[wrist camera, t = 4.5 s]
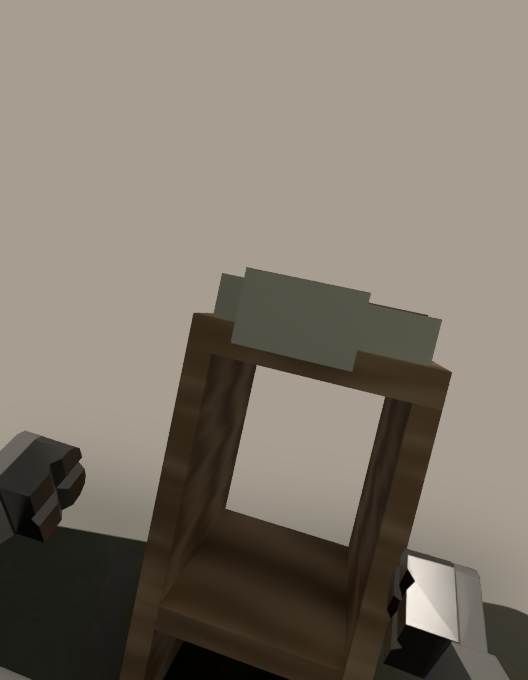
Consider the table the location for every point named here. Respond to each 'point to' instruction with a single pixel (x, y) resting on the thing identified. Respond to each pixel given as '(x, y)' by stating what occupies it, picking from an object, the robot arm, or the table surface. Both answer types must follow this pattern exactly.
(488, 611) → the table surface
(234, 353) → the rack
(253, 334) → the grey paddle board
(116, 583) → the table surface
